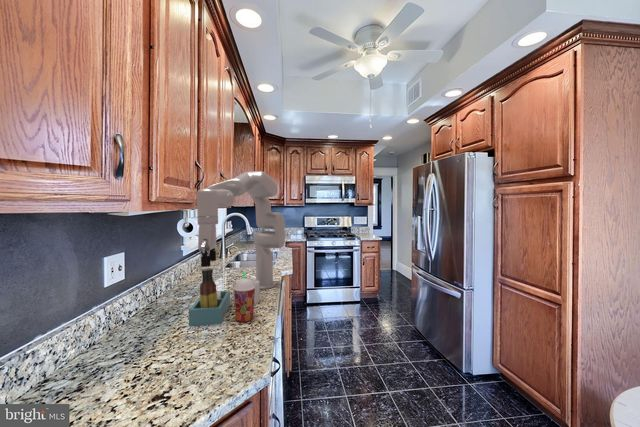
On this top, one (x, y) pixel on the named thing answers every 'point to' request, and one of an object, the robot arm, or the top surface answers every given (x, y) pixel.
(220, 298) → the cream jar
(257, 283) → the toilet tissue
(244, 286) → the smoothie
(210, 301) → the sauce bottle
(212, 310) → the bottle crate
